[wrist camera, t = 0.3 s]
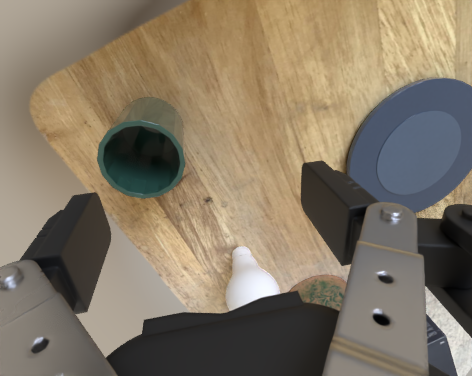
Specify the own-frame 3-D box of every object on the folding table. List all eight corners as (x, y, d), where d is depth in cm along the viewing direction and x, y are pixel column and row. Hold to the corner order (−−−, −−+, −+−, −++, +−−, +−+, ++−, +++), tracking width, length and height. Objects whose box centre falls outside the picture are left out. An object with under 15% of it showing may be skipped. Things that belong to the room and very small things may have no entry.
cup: (111, 100, 28) (85, 126, 21) (177, 93, 29) (177, 115, 21) (128, 161, 32) (111, 203, 24) (187, 153, 32) (190, 191, 24)
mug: (251, 343, 50) (270, 425, 39) (305, 267, 43) (345, 341, 33) (306, 352, 54) (336, 429, 43) (363, 283, 47) (414, 354, 37)
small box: (348, 287, 47) (396, 359, 37) (387, 266, 46) (447, 334, 36) (371, 327, 54) (417, 399, 43) (405, 310, 53) (461, 378, 42)
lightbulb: (235, 224, 38) (254, 289, 28) (270, 242, 40) (299, 308, 31) (208, 257, 40) (218, 328, 30) (244, 272, 42) (263, 343, 32)
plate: (353, 85, 32) (359, 87, 31) (499, 68, 34) (510, 70, 33) (338, 221, 40) (343, 226, 39) (455, 201, 42) (463, 206, 41)
